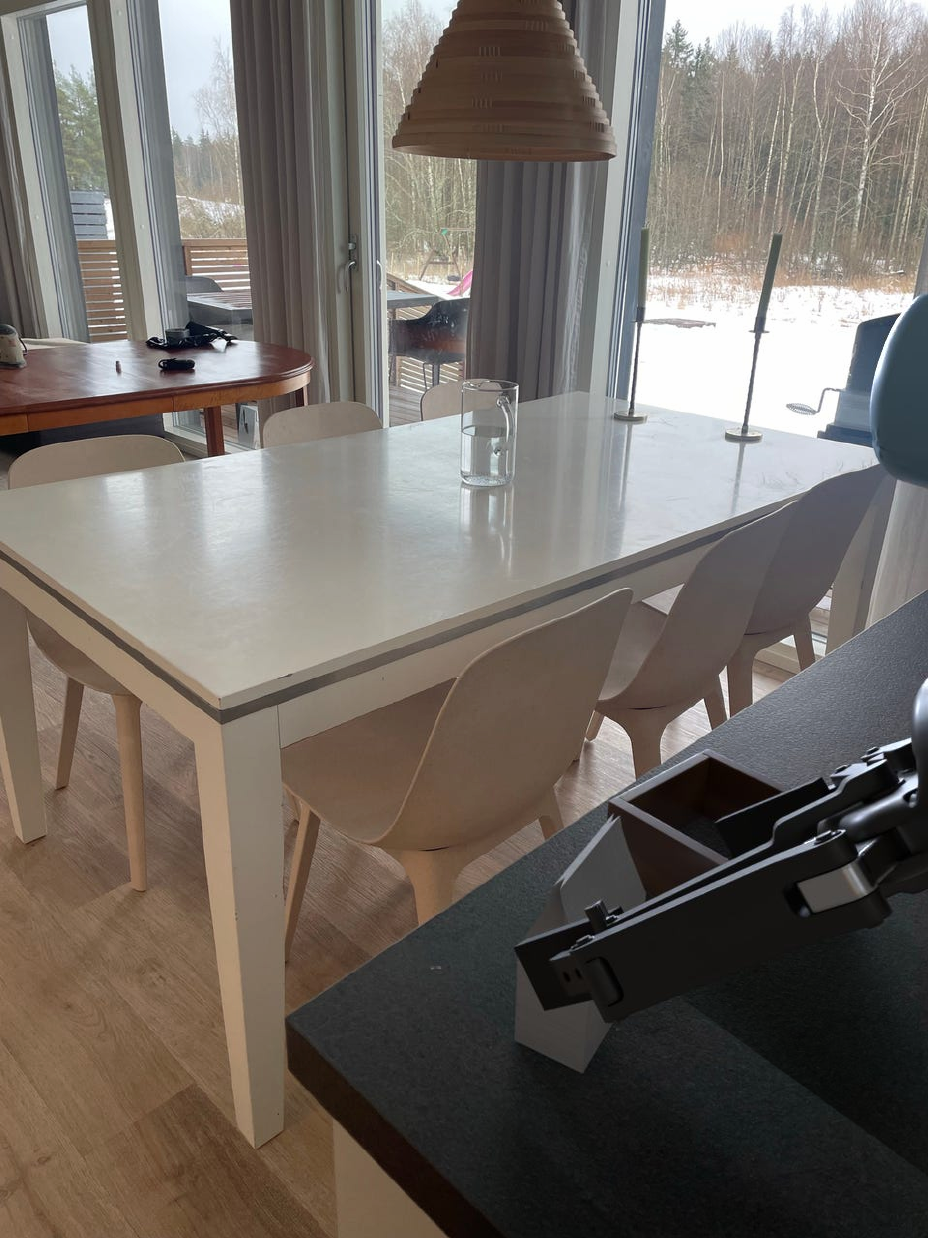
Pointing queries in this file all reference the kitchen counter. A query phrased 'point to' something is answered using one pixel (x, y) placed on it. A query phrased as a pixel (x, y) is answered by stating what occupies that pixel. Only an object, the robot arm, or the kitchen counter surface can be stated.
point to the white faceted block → (586, 881)
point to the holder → (684, 816)
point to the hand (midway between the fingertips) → (642, 904)
